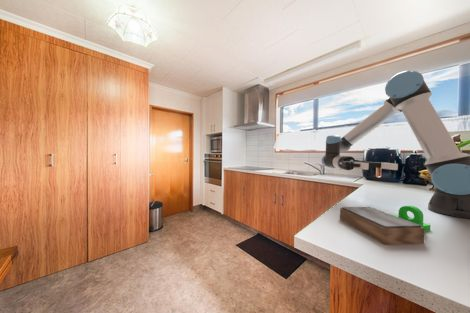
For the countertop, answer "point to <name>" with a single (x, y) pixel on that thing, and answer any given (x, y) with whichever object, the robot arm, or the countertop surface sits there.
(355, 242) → the countertop surface
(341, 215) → the stand
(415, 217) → the mechanical part
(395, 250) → the countertop surface
